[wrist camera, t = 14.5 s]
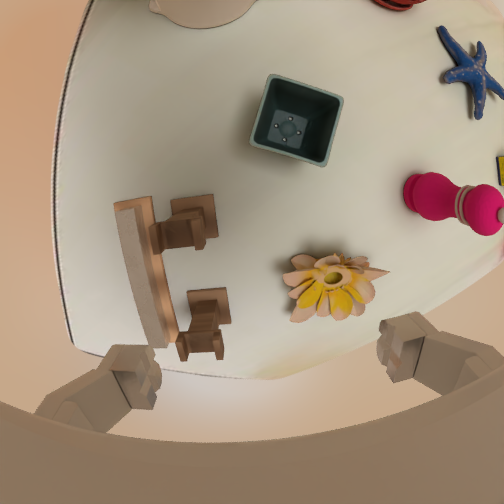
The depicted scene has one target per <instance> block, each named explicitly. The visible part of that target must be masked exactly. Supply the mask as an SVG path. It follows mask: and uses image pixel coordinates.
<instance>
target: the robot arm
mask: <svg viewBox="0 0 504 504" xmlns="http://www.w3.org/2000/svg"><path fill="white" fill-rule="evenodd" d="M255 1H257V0H150V3H149V9H150V11H152V12H154V13H158V14H163V15H165V16H167V17H168V18H169V19H170V20H171V21H173V22H174V23H176V24H178V25H181V26H184V27H189V28H210V27H216V26H220V25H223V24H226V23H229V22H231V21H233V20H235V19H237V18H239V17H240V16H242V15H243V14H244V13H245V12H246V11H247V10H248V9H249V8H250V7H251V6H252V4H253V3H254V2H255ZM379 331H380V333H381V334H382V335H381V336H380V338H379V339H378V340H377V355H378V358H379V361H380V362H381V364H382V365H385V366H387V371H386V372H387V374H388V375H389V377H390V379H391V380H392V382H393V383H396V382H400V381H403V380H407V379H410V378H413V377H414V379H415V380H417V381H418V382H420V383H422V384H424V385H425V386H427V387H429V388H431V389H432V390H434V391H436V392H437V393H439V394H441V395H443V396H441V397H439V398H437V399H434V400H432V401H429V402H427V403H424V404H422V405H419V406H416V407H414V408H411V409H408V410H405V411H402V412H399V413H396V414H393V415H390V416H387V417H383V418H380V419H377V420H373V421H369V422H366V423H362V424H358V425H354V426H350V427H345V428H341V429H336V430H331V431H326V432H321V433H316V434H310V435H304V436H297V437H291V438H282V439H273V440H262V441H248V442H228V443H227V442H225V443H196V442H194V443H193V442H173V441H159V440H150V439H141V438H133V437H126V436H120V435H114V434H107V433H106V432H107V431H109V430H110V429H111V428H112V427H113V426H114V425H115V424H116V423H117V422H118V421H120V420H121V419H122V418H123V417H124V416H125V415H126V414H127V413H129V412H130V411H131V409H146V410H152V409H153V407H154V404H155V401H156V398H157V396H156V394H155V392H156V391H157V390H158V389H160V386H161V383H162V373H161V369H160V366H159V364H158V363H157V362H156V361H155V360H154V357H155V352H154V349H153V347H152V346H150V345H125V344H115V345H112V346H111V348H110V349H109V351H108V352H107V354H106V356H105V357H104V359H103V360H102V362H101V363H100V365H99V366H98V368H97V369H96V370H95V369H93V370H91V371H89V372H87V373H86V374H84V375H82V376H80V377H78V378H77V379H75V380H73V381H71V382H70V383H68V384H66V385H64V386H62V387H60V388H59V389H57V390H55V391H53V392H51V393H50V394H48V395H46V397H45V398H44V400H43V401H42V403H41V404H40V406H39V407H38V409H37V410H36V411H35V413H34V414H31V413H29V412H26V411H23V410H21V409H18V408H16V407H13V406H11V405H8V404H6V403H3V402H1V401H0V504H504V357H503V356H502V355H501V354H500V353H499V352H498V351H497V350H496V349H495V348H494V347H493V346H490V345H486V344H483V343H480V342H477V341H473V340H470V339H467V338H463V337H460V336H457V335H454V334H450V333H447V332H444V331H441V332H439V331H438V330H437V329H436V328H435V327H434V326H433V325H432V324H431V323H429V321H428V320H426V319H425V318H424V317H423V316H422V315H421V314H420V313H419V312H416V311H415V312H412V313H408V314H405V315H402V316H398V317H394V318H389V319H385V320H381V322H380V326H379Z"/></svg>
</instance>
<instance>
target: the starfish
mask: <svg viewBox="0 0 504 504" xmlns="http://www.w3.org/2000/svg"><path fill="white" fill-rule="evenodd" d="M438 32H439V34H440V37H441V39H442V41H443V42H444V44H445V46H446V48H447V49H448V51H449V52H450V54H451V55H452V56H453V58H454V59H455V60H456V62H457V63H458V67H454V68H452V69H451V70H449V71H447V72H446V74H445V75H444V77H443V79H444V81H445V82H446V83H449V84H450V83H453V82H456V81H461V82H467V83H468V84H469V85H470V87H471V89H472V93H473V97H474V103H475V111H474V117H475V119H477V120H479V119H481V118H482V116H483V109H484V105H485V99H486V88H488V89H490V90H492V91H493V92H494V93H496V94H497V95H499V97H500V98H501V99H503V100H504V89H503V88H502V87H501V86H500V84H499V83H498V82H497V81H496V80H495V79H494V78H493V77H491V76H490V75H489V74H488V72H487V71H486V69H485V64H486V58H487V55H486V51H485V49H484V46H483V44H482V43H481V42H480V41H478V42H477V53H476V55H475V56H474V58H472V57H471V56H469V55H468V53H467V52H466V51H465V50H464V49H463V48H462V47H461V46H460V45H459V44H458V43H457V42H456V41H455V40H454V39H453V38H452V37H451V36H450V34H449V33H448V31H447V29H446V28H445V27H444V26H439V27H438Z"/></svg>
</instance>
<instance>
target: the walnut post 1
mask: <svg viewBox="0 0 504 504" xmlns="http://www.w3.org/2000/svg"><path fill="white" fill-rule="evenodd" d="M170 201H171V208H172V215H173V216H172V217H170V218H169V219H168V220H166V221H163V222H156V223H154V224H152V225H151V226H149V227H148V230H149V235H150V240H151V246H152V251H153V255H158V254H161V253H162V252H163V251H164V250H165V249H172V248H181V247H190V246H195V250H203V248H204V246H205V244H206V239H207V238H216V237H218V236H219V235H218V228H217V220H216V213H215V205H214V197H213V194H210V195H202V196H195V197H188V198H181V199H174V200H170Z"/></svg>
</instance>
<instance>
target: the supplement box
mask: <svg viewBox="0 0 504 504" xmlns="http://www.w3.org/2000/svg"><path fill="white" fill-rule="evenodd" d="M496 159H497V167H498V176H499V185H501V186H504V156H501V157H496Z"/></svg>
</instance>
